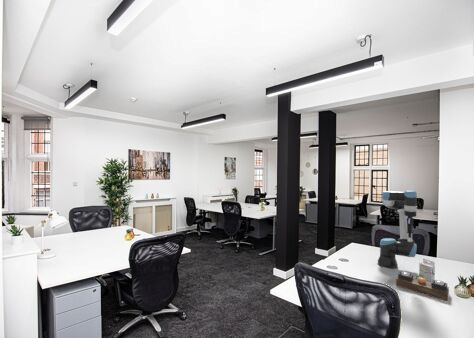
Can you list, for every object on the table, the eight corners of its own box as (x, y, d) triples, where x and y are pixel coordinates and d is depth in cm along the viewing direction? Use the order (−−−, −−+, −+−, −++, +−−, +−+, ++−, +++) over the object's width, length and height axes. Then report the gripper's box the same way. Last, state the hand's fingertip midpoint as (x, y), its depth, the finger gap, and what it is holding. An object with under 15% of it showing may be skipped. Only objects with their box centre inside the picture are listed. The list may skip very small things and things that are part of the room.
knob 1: (402, 276, 180) (402, 270, 180) (410, 278, 176) (410, 273, 176) (400, 278, 176) (400, 272, 176) (408, 280, 173) (408, 274, 173)
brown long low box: (399, 280, 184) (400, 270, 184) (448, 294, 164) (448, 282, 164) (396, 285, 175) (396, 274, 175) (447, 300, 156) (447, 288, 156)
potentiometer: (418, 280, 173) (418, 276, 173) (426, 282, 170) (426, 278, 170) (417, 282, 170) (417, 277, 170) (425, 284, 167) (425, 279, 167)
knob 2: (434, 285, 167) (434, 279, 167) (444, 287, 163) (444, 281, 163) (434, 287, 163) (434, 281, 163) (443, 289, 160) (443, 283, 160)
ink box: (418, 277, 190) (418, 258, 191) (422, 276, 192) (422, 258, 193) (431, 282, 182) (431, 262, 183) (435, 281, 184) (435, 261, 185)
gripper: (415, 212, 179) (414, 244, 179) (417, 210, 188) (417, 240, 188) (403, 211, 184) (402, 242, 184) (405, 209, 193) (405, 238, 194)
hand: (409, 241), depth 186 cm, fingers closed
